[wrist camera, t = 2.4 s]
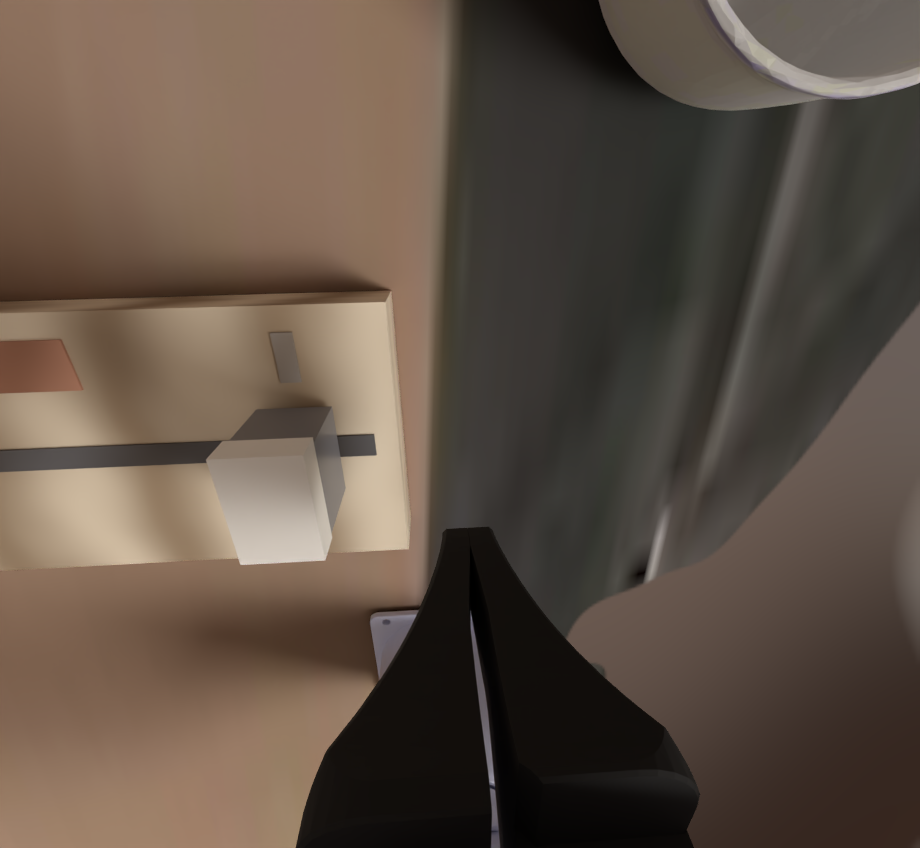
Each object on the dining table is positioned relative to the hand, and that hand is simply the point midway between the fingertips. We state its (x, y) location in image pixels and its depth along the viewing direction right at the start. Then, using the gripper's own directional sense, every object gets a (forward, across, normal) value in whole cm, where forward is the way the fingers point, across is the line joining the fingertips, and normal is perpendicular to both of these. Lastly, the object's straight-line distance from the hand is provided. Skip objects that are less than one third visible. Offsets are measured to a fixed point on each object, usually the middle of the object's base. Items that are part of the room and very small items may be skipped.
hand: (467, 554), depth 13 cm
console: (+9, +12, 0) cm, 16 cm away
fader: (+7, +7, 0) cm, 9 cm away
